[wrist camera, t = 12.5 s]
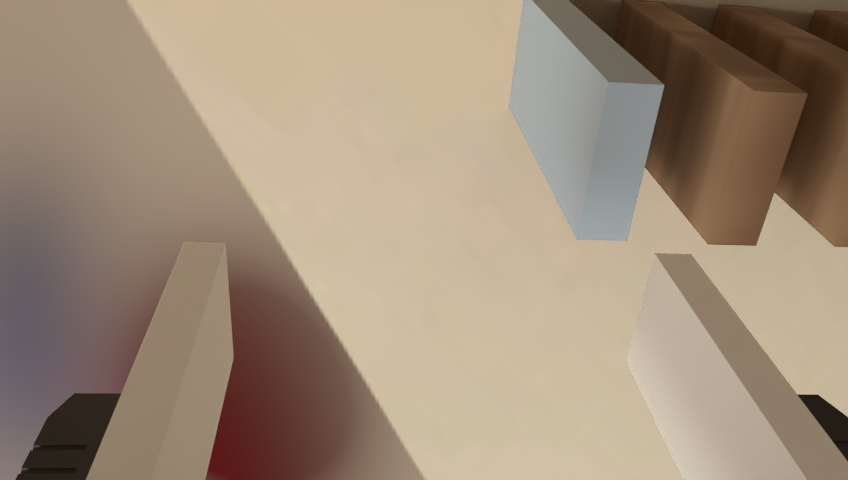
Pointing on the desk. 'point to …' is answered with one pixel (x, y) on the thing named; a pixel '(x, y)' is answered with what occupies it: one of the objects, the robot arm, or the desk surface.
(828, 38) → the row tile
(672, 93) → the row tile
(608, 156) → the tile
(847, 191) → the row tile
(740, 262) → the desk surface
